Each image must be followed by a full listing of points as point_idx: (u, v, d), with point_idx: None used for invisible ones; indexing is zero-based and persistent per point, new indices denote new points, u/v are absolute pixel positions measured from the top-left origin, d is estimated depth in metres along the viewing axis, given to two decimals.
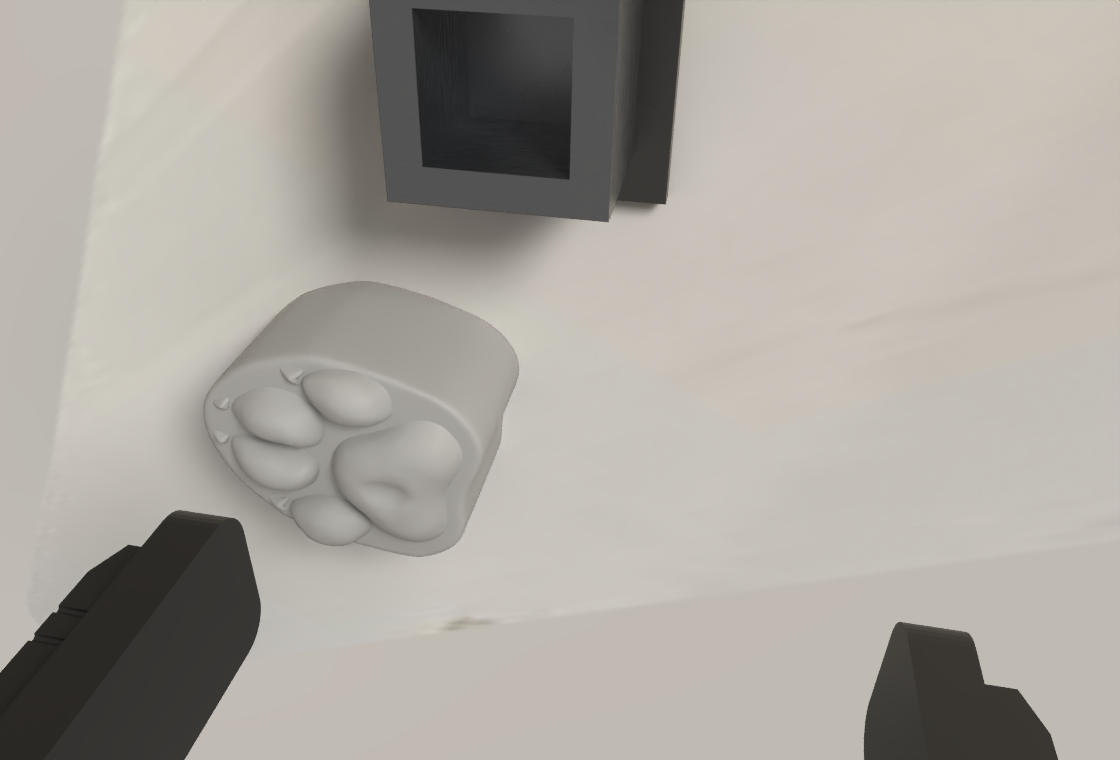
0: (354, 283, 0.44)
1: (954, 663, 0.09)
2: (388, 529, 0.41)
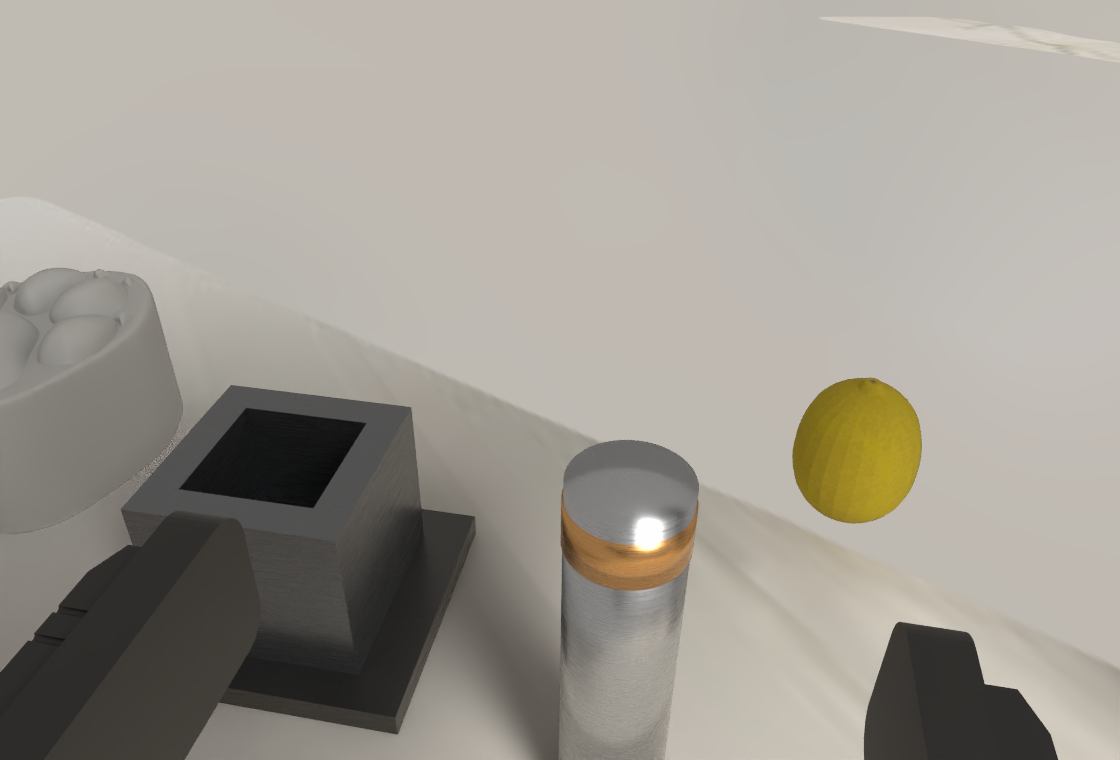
0: (171, 436, 0.48)
1: (954, 663, 0.09)
2: None
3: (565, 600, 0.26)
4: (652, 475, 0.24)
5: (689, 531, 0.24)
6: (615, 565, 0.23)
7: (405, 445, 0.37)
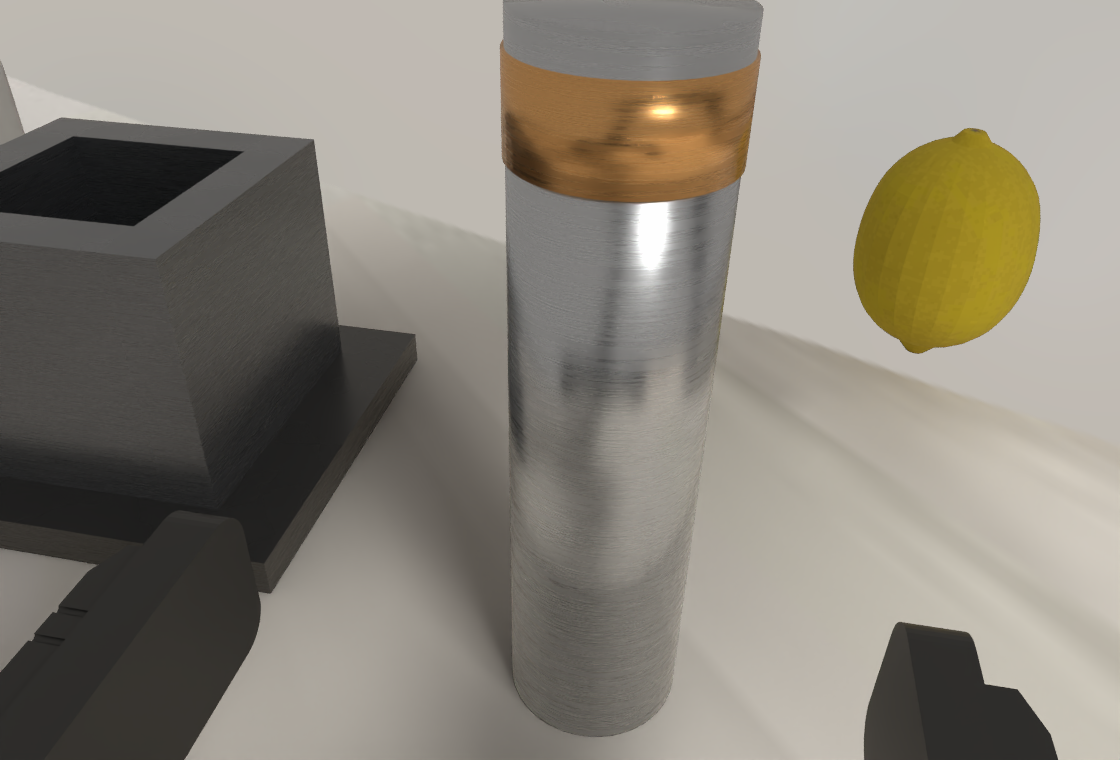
0: None
1: (954, 663, 0.09)
2: None
3: (511, 274, 0.14)
4: None
5: (745, 84, 0.12)
6: (600, 136, 0.12)
7: (304, 192, 0.25)
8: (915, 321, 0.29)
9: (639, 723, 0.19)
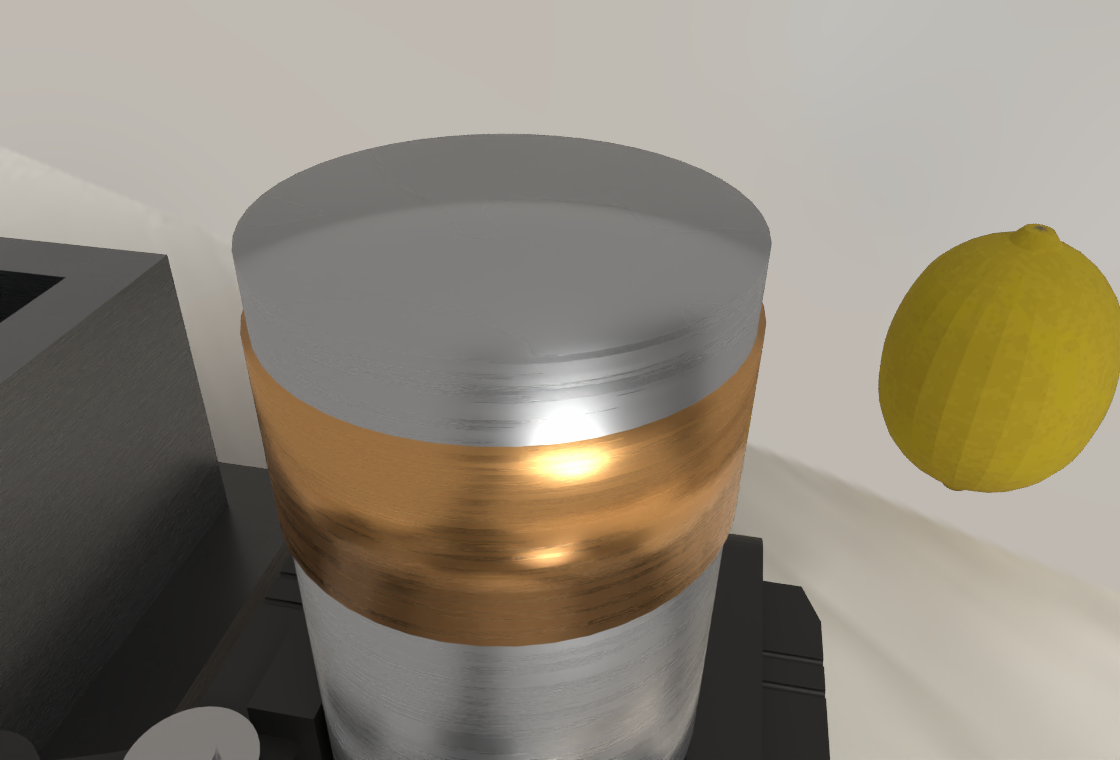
0: None
1: (740, 560, 0.10)
2: None
3: (315, 664, 0.08)
4: (591, 204, 0.06)
5: (735, 406, 0.06)
6: (420, 540, 0.05)
7: (153, 327, 0.19)
8: (960, 467, 0.23)
9: None
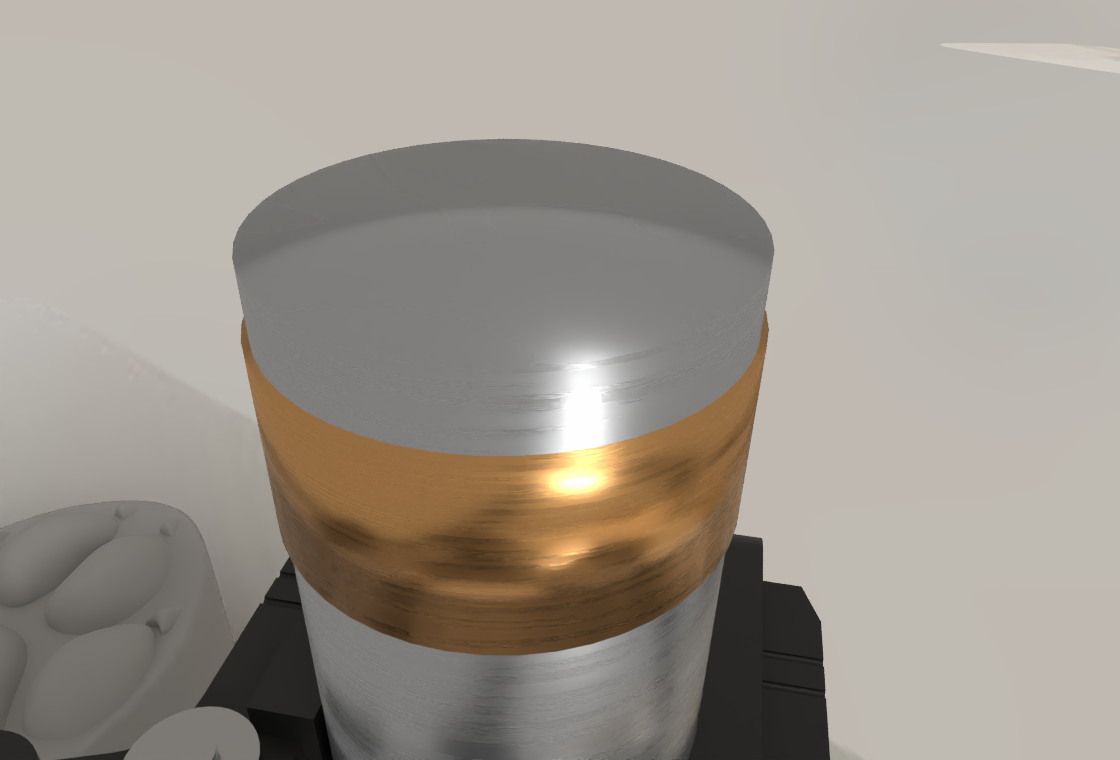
0: None
1: (740, 560, 0.10)
2: None
3: (316, 671, 0.08)
4: (593, 211, 0.06)
5: (738, 413, 0.06)
6: (423, 549, 0.05)
7: None
8: None
9: None
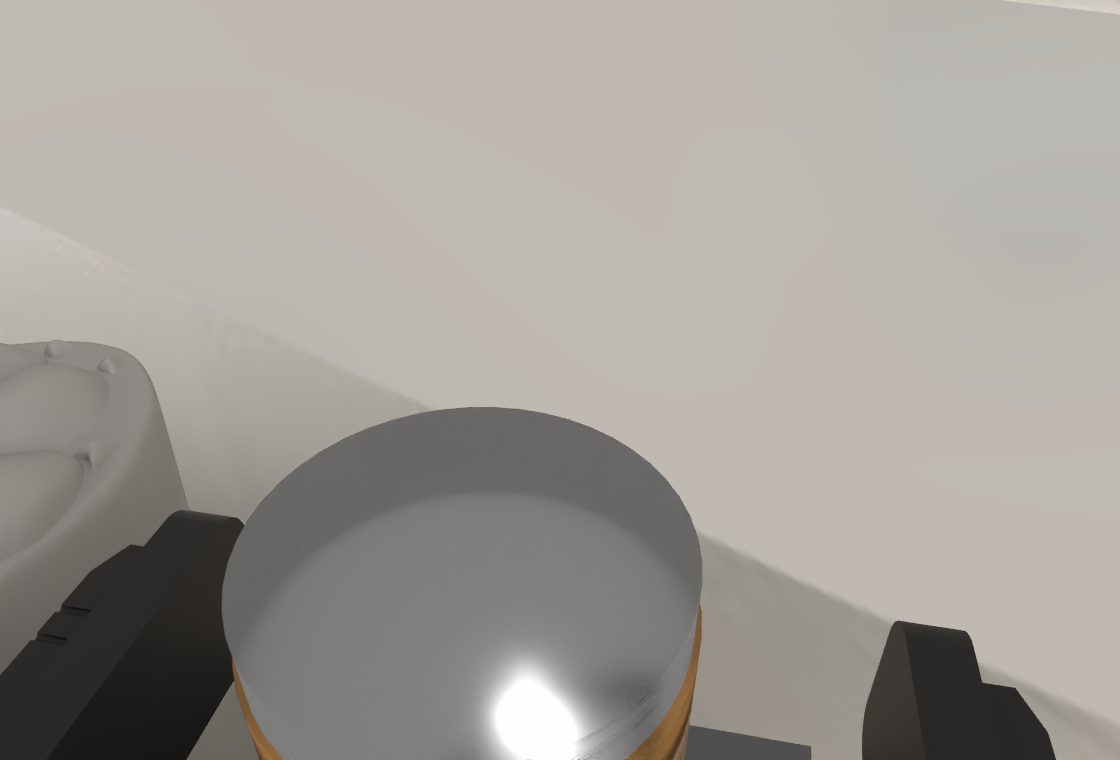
0: None
1: (952, 661, 0.09)
2: None
3: None
4: (544, 527, 0.07)
5: (669, 735, 0.07)
6: None
7: None
8: None
9: None
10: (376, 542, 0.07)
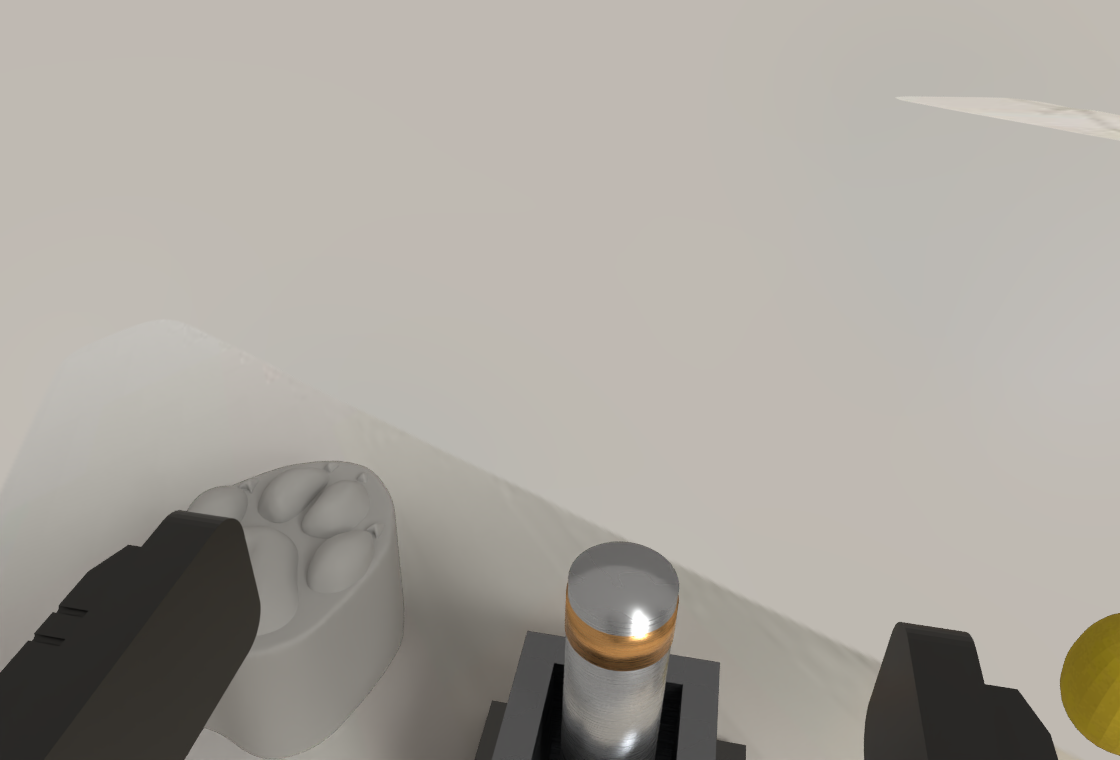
0: (402, 632, 0.47)
1: (954, 663, 0.09)
2: None
3: (567, 674, 0.31)
4: (641, 575, 0.29)
5: (671, 623, 0.29)
6: (610, 651, 0.28)
7: None
8: (1117, 749, 0.40)
9: None
10: (601, 578, 0.29)
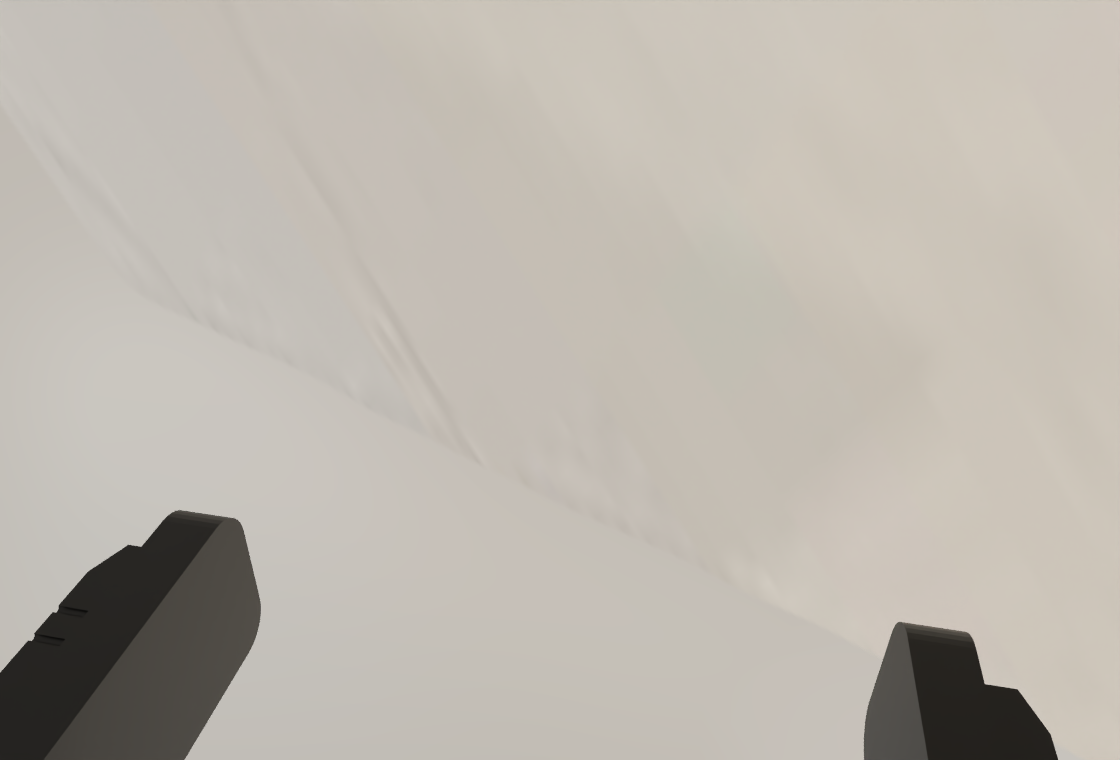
0: None
1: (954, 663, 0.09)
2: None
3: None
4: None
5: None
6: None
7: None
8: None
9: None
10: None
